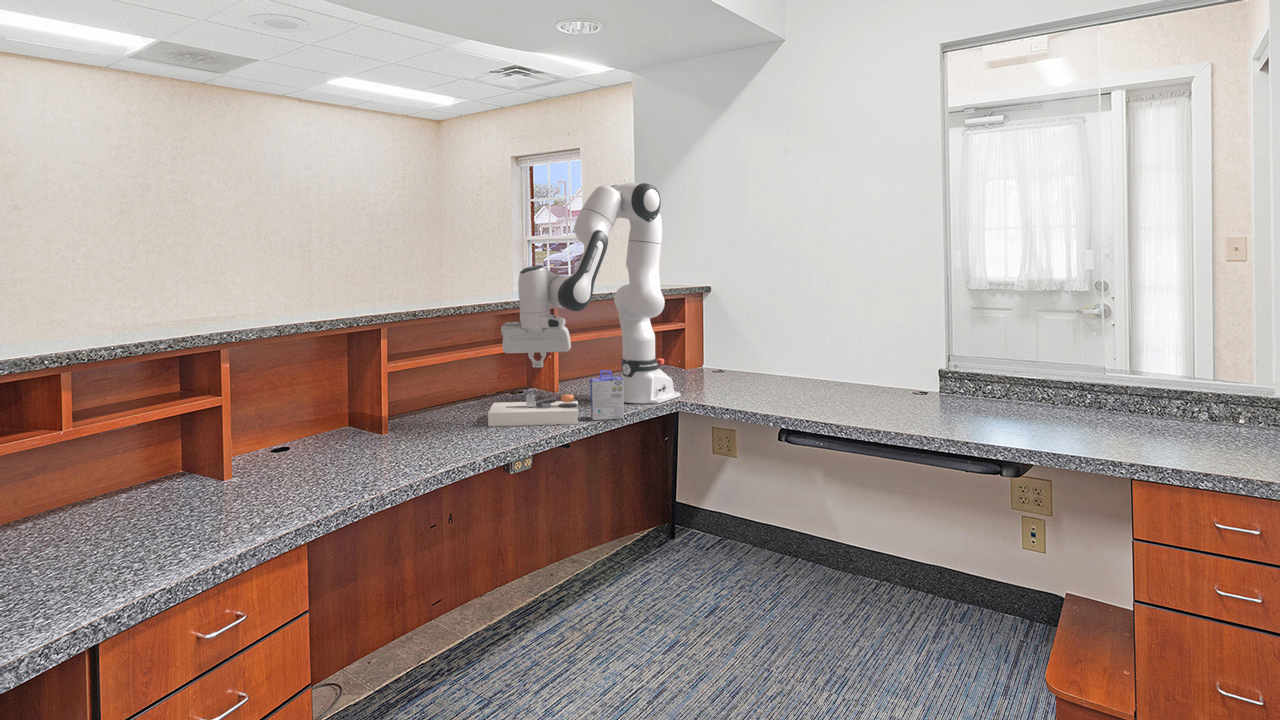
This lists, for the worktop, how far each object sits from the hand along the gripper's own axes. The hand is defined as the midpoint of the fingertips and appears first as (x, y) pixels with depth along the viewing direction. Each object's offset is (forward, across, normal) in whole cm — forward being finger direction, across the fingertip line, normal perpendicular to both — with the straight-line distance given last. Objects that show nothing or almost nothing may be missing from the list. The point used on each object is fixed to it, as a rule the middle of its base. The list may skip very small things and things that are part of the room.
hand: (538, 367), depth 216 cm
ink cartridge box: (+17, +20, +2) cm, 26 cm away
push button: (+11, +8, 0) cm, 14 cm away
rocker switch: (+11, +2, 0) cm, 11 cm away
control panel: (+16, -2, -1) cm, 16 cm away
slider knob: (+12, -3, -1) cm, 12 cm away
